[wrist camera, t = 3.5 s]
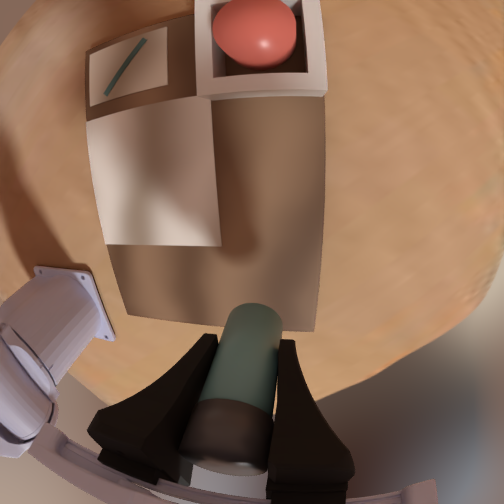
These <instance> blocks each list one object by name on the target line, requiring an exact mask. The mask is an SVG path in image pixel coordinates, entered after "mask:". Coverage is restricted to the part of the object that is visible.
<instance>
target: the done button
mask: <svg viewBox="0 0 504 504" xmlns="http://www.w3.org/2000/svg"><path fill="white" fill-rule="evenodd" d="M212 30H213V36H214V39H215V41H216V43H217V44H218V46H219V47H220V48H221V49H222V50H223V51H224V52H225V53H226V54H227V55H228V56H229V57H230V58H232V59H233V60H234V61H235V62H236V63H237V64H239V65H241V66H243V67H245V68H248V69H252V70H267V69H272V68H275V67H277V66H279V65H281V64H283V63H284V62H285V61H287V60H288V59H289V58H290V57H291V55H292V54H293V52H294V50H295V47H296V20H295V17H294V14H293V12H292V11H291V9H290V8H289V7H288V6H287V5H286V4H285V3H283V2H282V1H280V0H232V1H230V2H228V3H227V4H226V5H224V6H223V7H222V8H221V9H220V10H219V12H218V13H217V15H216V17H215V19H214V22H213V29H212Z"/></svg>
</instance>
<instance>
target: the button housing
mask: <svg viewBox="0 0 504 504" xmlns="http://www.w3.org/2000/svg"><path fill="white" fill-rule="evenodd" d="M230 1H232V0H195V61H196V87H197V96H198V97H201V98H205V99H209V100H212V101H214V100H224V99H235V98H248V97H269V96H316V97H323V96H324V94H325V93H326V92H327V91H328V85H327V68H326V55H325V43H324V33H323V24H322V15H321V8H320V0H280V1H282V2H283V3H285V4H286V5H287V6H288V7H289V8H290V9H291V11H292V12H293V14H294V16H301V18H302V29H303V40H304V52H305V67H306V73H264V74H248V75H236V76H226V64H225V52H224V51H223V50H222V49H221V48H220V47H219V46H218V44H217V43H216V41H215V39H214V36H213V30H212V29H213V22H214V19H215V17H216V15H217V13H218V12H219V10H220V9H221V8H222V7H223V6H224V5H226V4H227V3H228V2H230Z"/></svg>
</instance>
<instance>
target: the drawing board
mask: <svg viewBox="0 0 504 504" xmlns="http://www.w3.org/2000/svg"><path fill="white" fill-rule="evenodd" d="M294 17H295V20H296V47H295V50H294V52H293V54H292V55H291V57H290V58H289V59H288V60H287V61H285V62H284V63H283V64H281V65H279V66H277V67H275V68H272V69H267V70H252V69H248V68H245V67H243V66H241V65H239V64H237V63H236V62H235V61H234V60H233V59H232V58H230V57H229V56H228V55H227V54H226V53H225V64H226V76H236V75H248V74H264V73H306V67H305V52H304V40H303V29H302V18H301V16H294ZM85 100H86V119H87V122H86V132H87V142H88V151H89V160H90V167H91V174H92V180H93V187H94V192H95V198H96V203H97V208H98V213H99V218H100V223H101V227H102V231H103V236H104V240H105V244H107V248H108V252H109V256H110V259H111V263H112V267H113V270H114V274H115V277H116V280H117V284H118V287H119V290H120V293H121V296H122V299H123V302H124V305H125V308H126V311H127V314H128V315H133V316H140V317H146V318H153V319H160V320H167V321H175V322H183V323H191V324H200V325H210V326H220V327H225V325H226V322H227V319H228V316H229V314H230V312H231V311H232V310H233V309H234V308H235V307H237V306H239V305H242V304H245V303H259V304H263V305H266V306H268V307H270V308H272V309H273V310H274V311H275V312H277V314H278V315H279V316H280V318H281V320H282V323H283V329H282V331H300V332H314V328H315V320H316V311H317V302H318V292H319V281H320V270H321V257H322V243H323V226H324V203H325V100H324V96H323V97H316V96H269V97H248V98H235V99H224V100H214V101H212V100H209V99H205V98H201V97H198V96H197V87H196V61H195V14H193V15H188V16H184V17H180V18H176V19H172V20H168V21H165V22H161V23H158V24H154V25H151V26H148V27H145V28H142V29H139V30H136V31H133V32H131V33H128V34H125V35H123V36H120V37H118V38H115V39H113V40H110V41H108V42H106V43H103V44H101V45H99V46H97V47H94V48H92V49H90V50H88V51H86V59H85Z"/></svg>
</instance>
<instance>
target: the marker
mask: <svg viewBox="0 0 504 504" xmlns="http://www.w3.org/2000/svg"><path fill="white" fill-rule="evenodd" d="M282 329H283V323H282V320H281V318H280V316H279V315H278V314H277V312H275V311H274V310H273V309H272V308H270V307H268V306H266V305H263V304H259V303H245V304H242V305H239V306H237V307H235V308H234V309H233V310H232V311H231V312H230V314H229V316H228V319H227V322H226V325H225V327H224V330H223V333H222V336H221V339H220V342H219V344H218V347H217V350H216V353H215V356H214V359H213V361H212V364H211V367H210V370H209V373H208V376H207V378H206V381H205V384H204V387H203V390H202V393H201V395H200V398H199V401H198V403H196V404H195V406H194V407H193V410H192V413H191V416H190V419H189V421H188V424H187V427H186V430H185V432H184V435H183V438H182V441H181V444H180V446H179V449H178V452H179V454H180V455H181V456H182V457H183V458H184V459H186V460H187V461H189V462H190V463H192V464H194V465H197V466H199V467H201V468H204V469H207V470H210V471H213V472H217V473H222V474H226V475H234V476H255V475H260V474H263V473H265V472H266V471H267V470H268V458H269V452H270V446H271V440H272V434H273V428H274V421H273V419H272V416H273V409H274V401H275V393H276V385H277V376H278V350H279V343H280V339H282Z"/></svg>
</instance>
